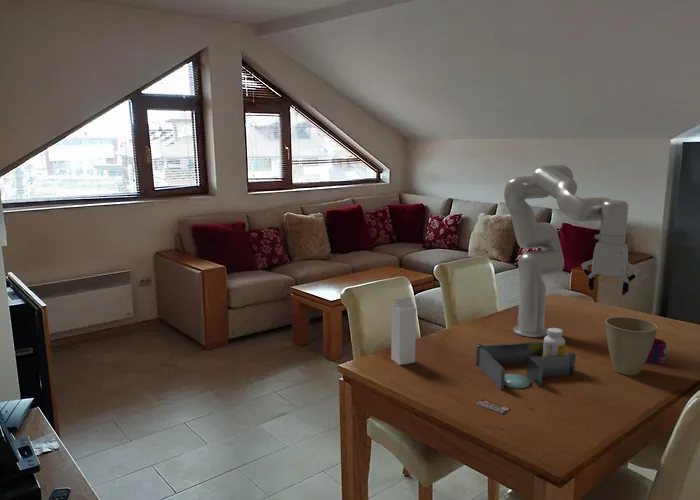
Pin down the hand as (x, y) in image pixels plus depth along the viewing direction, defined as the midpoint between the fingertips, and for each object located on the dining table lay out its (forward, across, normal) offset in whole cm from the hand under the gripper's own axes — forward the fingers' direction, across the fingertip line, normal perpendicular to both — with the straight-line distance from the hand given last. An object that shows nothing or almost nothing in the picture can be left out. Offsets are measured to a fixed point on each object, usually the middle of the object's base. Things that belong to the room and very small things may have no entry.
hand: (607, 291), depth 188 cm
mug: (+25, +12, +14) cm, 31 cm away
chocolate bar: (+26, -19, -48) cm, 58 cm away
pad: (+25, -20, -29) cm, 43 cm away
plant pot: (+25, +8, -1) cm, 26 cm away
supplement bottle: (+25, -13, -11) cm, 30 cm away
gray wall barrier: (+25, -18, -20) cm, 37 cm away
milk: (+25, -57, -32) cm, 70 cm away
